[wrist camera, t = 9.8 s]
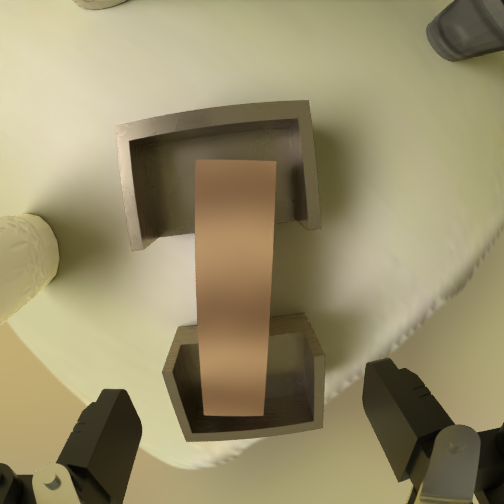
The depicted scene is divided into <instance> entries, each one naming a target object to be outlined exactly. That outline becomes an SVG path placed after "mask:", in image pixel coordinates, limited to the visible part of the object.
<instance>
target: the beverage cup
mask: <svg viewBox="0 0 504 504" xmlns="http://www.w3.org/2000/svg"><path fill="white" fill-rule="evenodd" d="M426 30H427V37H428V40H429V42H430V44H431V46H432V47H433V48H434V50H435V51H436V52H437V53H438V54H439V55H440V56H441V57H442V58H444V59H446V60H448V61H452V62H454V61H458V60H464V59H469V58H473V57H477V56H481V55H485V54H489V53H493V52H498V51H503V50H504V0H454V1H453V2H452V3H451V4H450V5H448V6H447V7H446V8H445V9H444V10H443V11H442V12H441V13H439V14H438V15H437V16H436V17H435V18H434V20H433V21H432V22H431V23H430V24H428V26H427V29H426Z"/></svg>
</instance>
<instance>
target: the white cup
mask: <svg viewBox="0 0 504 504" xmlns="http://www.w3.org/2000/svg"><path fill="white" fill-rule="evenodd" d="M59 260H60V257H59V249H58V242H57V240H56V238H55V236H54V233H53V231H52V229H51V227H50V226H49V225H48V224H47V223H46V222H45V221H44V220H43V219H42V218H41V217H39V216H36V215H32V214H21V215H15V216H2V217H0V325H1V324H3V323H4V322H5V321H6V320H7V319H8V318H10V317H11V316H12V315H13V314H14V313H16V312H17V311H18V310H19V309H20V308H21V307H23V306H24V305H25V304H26V303H27V302H28V301H29V300H31V299H32V298H33V297H34V296H35V295H36V294H37V293H38V292H39V291H40V290H42V289H43V288H44V287H46V286H47V285H48V284H49V283H50V282H51V280H52V279H53V278H54V277H55V275H56V274H57V269H58V265H59Z"/></svg>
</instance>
